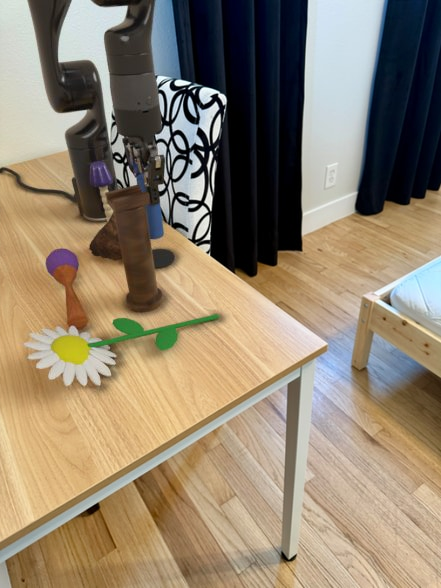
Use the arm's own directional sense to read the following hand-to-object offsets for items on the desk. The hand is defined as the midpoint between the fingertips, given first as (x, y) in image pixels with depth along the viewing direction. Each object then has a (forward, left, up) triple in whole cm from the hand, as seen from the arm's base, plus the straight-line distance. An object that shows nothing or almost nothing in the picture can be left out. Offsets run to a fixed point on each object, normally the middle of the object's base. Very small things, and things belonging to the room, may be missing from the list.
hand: (149, 199), depth 80 cm
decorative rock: (-8, -1, -13) cm, 16 cm away
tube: (0, 0, -1) cm, 1 cm away
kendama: (-10, -16, -13) cm, 23 cm away
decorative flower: (+8, -24, -13) cm, 29 cm away
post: (+4, -13, -13) cm, 19 cm away
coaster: (0, 0, -13) cm, 13 cm away
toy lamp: (-14, +6, -13) cm, 20 cm away
